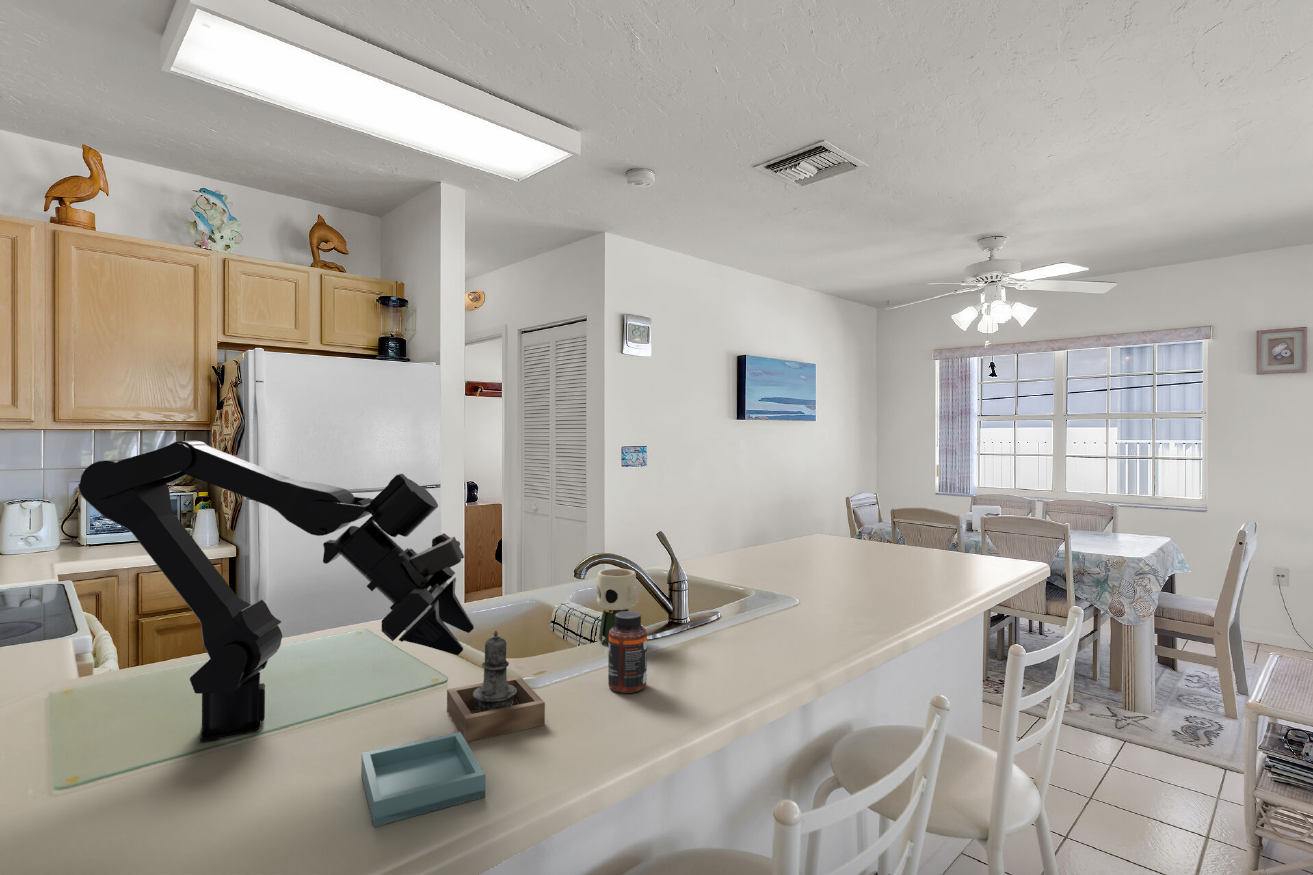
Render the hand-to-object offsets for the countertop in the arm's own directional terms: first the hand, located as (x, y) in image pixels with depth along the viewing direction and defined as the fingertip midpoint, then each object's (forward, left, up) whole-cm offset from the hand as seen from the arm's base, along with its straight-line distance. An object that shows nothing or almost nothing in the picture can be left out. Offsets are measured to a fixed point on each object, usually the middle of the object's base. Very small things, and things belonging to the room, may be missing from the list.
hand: (466, 640), depth 90 cm
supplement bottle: (+25, -1, -11) cm, 27 cm away
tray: (-8, -15, -11) cm, 20 cm away
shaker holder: (+4, -2, -11) cm, 11 cm away
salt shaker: (+4, -2, -11) cm, 12 cm away
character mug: (+33, +19, -11) cm, 40 cm away
